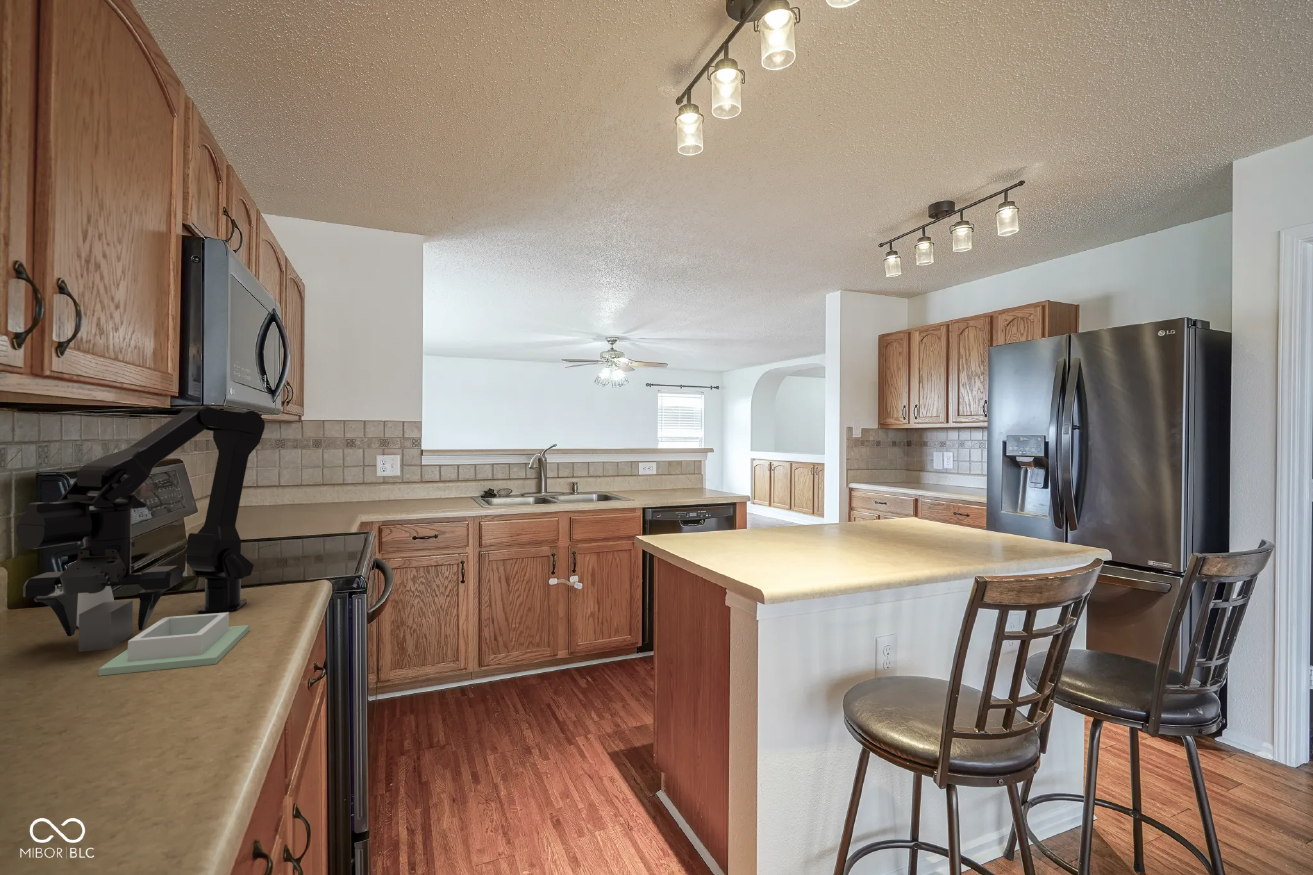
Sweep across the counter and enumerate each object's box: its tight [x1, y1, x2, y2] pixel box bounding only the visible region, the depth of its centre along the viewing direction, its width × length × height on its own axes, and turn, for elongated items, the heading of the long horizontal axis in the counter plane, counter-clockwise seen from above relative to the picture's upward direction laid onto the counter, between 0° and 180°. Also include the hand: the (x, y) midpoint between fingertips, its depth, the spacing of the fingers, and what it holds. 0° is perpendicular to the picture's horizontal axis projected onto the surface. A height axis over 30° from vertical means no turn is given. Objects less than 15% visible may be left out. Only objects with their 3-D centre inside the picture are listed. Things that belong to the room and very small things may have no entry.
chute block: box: [78, 599, 134, 653], centre depth 97 cm, size 7×4×6 cm, turn 20°
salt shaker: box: [76, 586, 115, 628], centre depth 105 cm, size 6×6×13 cm
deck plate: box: [98, 611, 250, 677], centre depth 93 cm, size 16×14×4 cm
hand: (106, 632), depth 97 cm, fingers open, 9 cm apart
